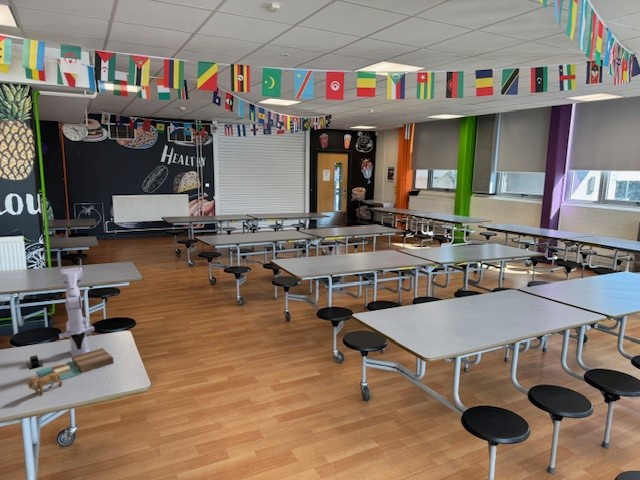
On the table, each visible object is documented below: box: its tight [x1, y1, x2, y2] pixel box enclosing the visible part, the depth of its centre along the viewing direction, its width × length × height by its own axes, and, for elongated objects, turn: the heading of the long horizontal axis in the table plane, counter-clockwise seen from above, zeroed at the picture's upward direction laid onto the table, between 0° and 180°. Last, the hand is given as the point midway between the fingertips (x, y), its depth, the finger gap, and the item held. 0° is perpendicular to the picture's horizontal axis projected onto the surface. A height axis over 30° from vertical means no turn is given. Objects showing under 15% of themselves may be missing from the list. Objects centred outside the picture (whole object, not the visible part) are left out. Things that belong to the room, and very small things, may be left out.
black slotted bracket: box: [26, 355, 44, 370], centre depth 205 cm, size 12×7×5 cm, turn 40°
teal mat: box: [36, 360, 82, 386], centre depth 197 cm, size 18×14×1 cm
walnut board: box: [71, 347, 114, 374], centre depth 206 cm, size 16×14×3 cm
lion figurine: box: [26, 373, 63, 396], centre depth 180 cm, size 15×5×9 cm, turn 161°
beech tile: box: [50, 361, 71, 376], centre depth 197 cm, size 9×6×2 cm, turn 44°
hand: (79, 348), depth 203 cm, fingers closed
